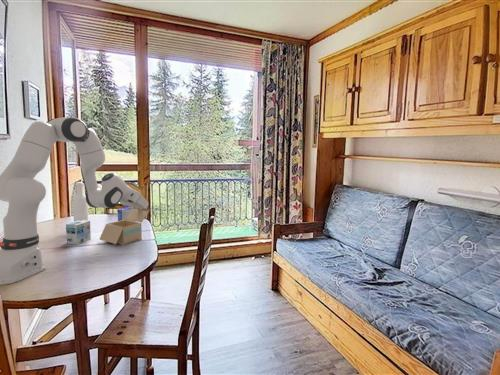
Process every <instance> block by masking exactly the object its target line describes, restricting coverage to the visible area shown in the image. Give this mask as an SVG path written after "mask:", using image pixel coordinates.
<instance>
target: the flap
mask: <svg viewBox="0 0 500 375" xmlns="http://www.w3.org/2000/svg"><path fill="white" fill-rule="evenodd" d="M132 207H133V206H132ZM150 211H151V209H150V208H146V209H144V208H143V209H142V210H137V209H136V208H135V207H133V209H132V210H131V212H130V213H129V215H128V216H127V218H126V219H127V220H132V221H135V222H138V223H141V224H142V223H143V222H144V220H145V218H146V217H147V216H148V213H149V212H150Z"/></svg>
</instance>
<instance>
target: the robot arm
mask: <svg viewBox="0 0 500 375" xmlns="http://www.w3.org/2000/svg"><path fill="white" fill-rule="evenodd" d="M56 142H57V143H59V142H60V143H62V142H63V143H73V144H74V146H75V148H76V151H77V153H78V156H79V160H80V173H81V176H82V180H83V181H82V182H83V187H84V189H85V195H86V202H87V204H88V207H90V208H94V209H95V208H98V209H99V208H105V209H112V208H116V207H117V206H118V204H119V203H120V204H121V205H127V206H128V207H135V208H136V209H137V210H142V209H143V208H144V209H148V206H149V204H150V203H149V201H147V199H146V198H145V197H144V196H143V195H142V192H140V191H138V190H136V189H133V188H132V187H130V186H129V185H128V184H127V183H126V182H125V180H124V179H123V178H122V177H121V176H119V174H117V173H115V172H110V173H107V174H105V175H104V176H102V178H101V186H102V187H101V188H100V187H99V184H98V180H97V177H96V170H97V169H99V168H100V167H102V166H103V164H104V163H105V161H106V155H105V151H104V148H103V145H102V142H101V140H100V138H99V136H98V135H97V133H96V131H95V130H94V129H93V128H89V127H88V126H87V124H86V123H85V122H84V121H83V120H82V119H80V118H77V117H73V116H69V117H67V116H66V117H65V116H64V117H63V116H62V117H57V118H51V119H50V120H48V121H46V122H45V121H40V120H39V121H38V120H37V121H34V122H32V123H31V124H30V125H29V127H28V128H27V130H26V131H25V133H24V134H23V136H22V139H21V141H20V142H19V145H18V147H17V149H16V151H15V153H14V156H13V157H12V159H11V161H10V163H8V165H7V166H6V167H5V169H4V170H3V172H2V173H0V201H2V202H6V203H8V208H7V213H6V215H5V216H4V217H3V219H2V226H3V239H2V240H1V241H0V285H1V286H2V285H10V284H14V283H16V282H18V281H21V280H23V279H25V278H28V277H31V276H33V275H36V274H37V273H40V272H42V271H45V270H47V268H46V266H45V264H44V261H43V255H42V250H41V248H40V246H39V245H40V244H39V243H40V236H39V233H38V226H37V225H38V222H37V217H38V211H39V206H40V204H41V202H42V201H43V200H44V199H45V197H46V194H47V189H46V186H45V185H44V184H43V183H42V182H41V181H39V180H36V179H35V177H36V176H37V175H38V174H39V173H40V172H42V170H44V169H45V167H46V165H47V164H48V161H49V157H50V155H51V153H52V151H53V147H54V145H55V143H56ZM127 206H126V207H127Z"/></svg>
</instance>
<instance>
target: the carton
mask: <svg viewBox="0 0 500 375" xmlns="http://www.w3.org/2000/svg"><path fill="white" fill-rule="evenodd" d="M142 228H143V227H142V223H141V222H137V221H135V222H134V221H129V220H121V221H118V220H117V221H113V222H108V223H106V224H105V225H104V228H103V230H102V233H101V234H100V237H99V240H101V241H105V242H108V243H112V244H114V245H117V244H119V245H127V244H130V242H131V243H133V241H134V242H137V241H139V239H140V240H143V239H142V238H143V237H142V232H143V231H142ZM136 240H137V241H136Z"/></svg>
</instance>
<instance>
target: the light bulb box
mask: <svg viewBox="0 0 500 375" xmlns="http://www.w3.org/2000/svg"><path fill="white" fill-rule="evenodd" d="M65 230H66V231H65V234H66V235H65V236H66V244H69V245H75V246H77V245H80V244H82V243H85V242H88V241H91V238H92V236H91V235H92V234H91V220H88V221H87V220H78V221H75V222H74V221H72V222H68V223H66V224H65Z"/></svg>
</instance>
